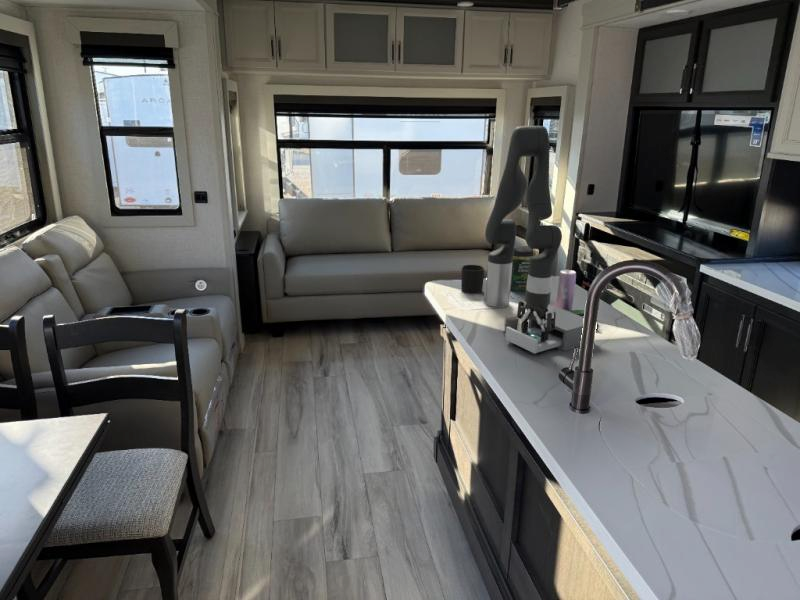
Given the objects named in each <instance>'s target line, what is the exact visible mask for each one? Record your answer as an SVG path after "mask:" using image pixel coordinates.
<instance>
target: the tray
mask: <svg viewBox="0 0 800 600" xmlns="http://www.w3.org/2000/svg"><path fill="white" fill-rule="evenodd" d="M541 331H542V330H540V329H538V328H536V327H533V328H529V329H528V332H537V333H541ZM504 335H505V336H504V337H505V338H504V340H507V341H508V342H510V343H512V344H515V345H517V346H518V347H519V348H522V349H524V350H527V351H529V352H530V353H532V354H537V353H541V352H544V351H547V350H551V349H554V348H556V347H558V346H561V345H562V341H563V339H561V338H558V337H556V336H554V335H552V334H549V335H548V340H547V341H546V342H542V343H539V344H538V340H536V339H534V338H532V337H530V336H528V335H526V334H525V333H522V332H521V330H518V331H517V330H515V329H513V328H511V327H506V334H505V333H504Z"/></svg>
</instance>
